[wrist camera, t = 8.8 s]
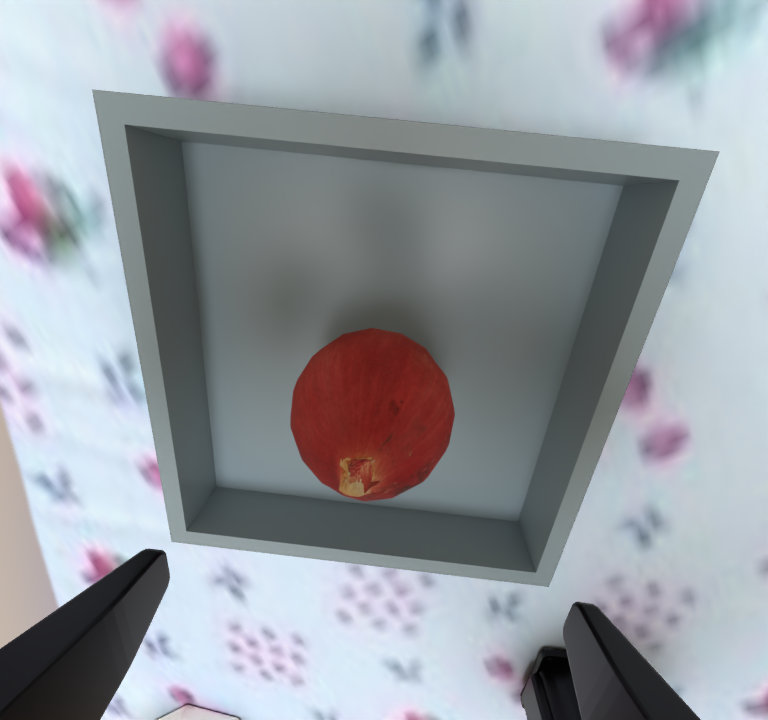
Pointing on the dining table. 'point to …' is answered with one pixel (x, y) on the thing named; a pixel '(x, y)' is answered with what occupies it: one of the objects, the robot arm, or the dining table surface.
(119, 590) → the robot arm
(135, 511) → the dining table surface
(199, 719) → the jar
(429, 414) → the onion
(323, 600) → the dining table surface
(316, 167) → the tray
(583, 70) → the dining table surface
